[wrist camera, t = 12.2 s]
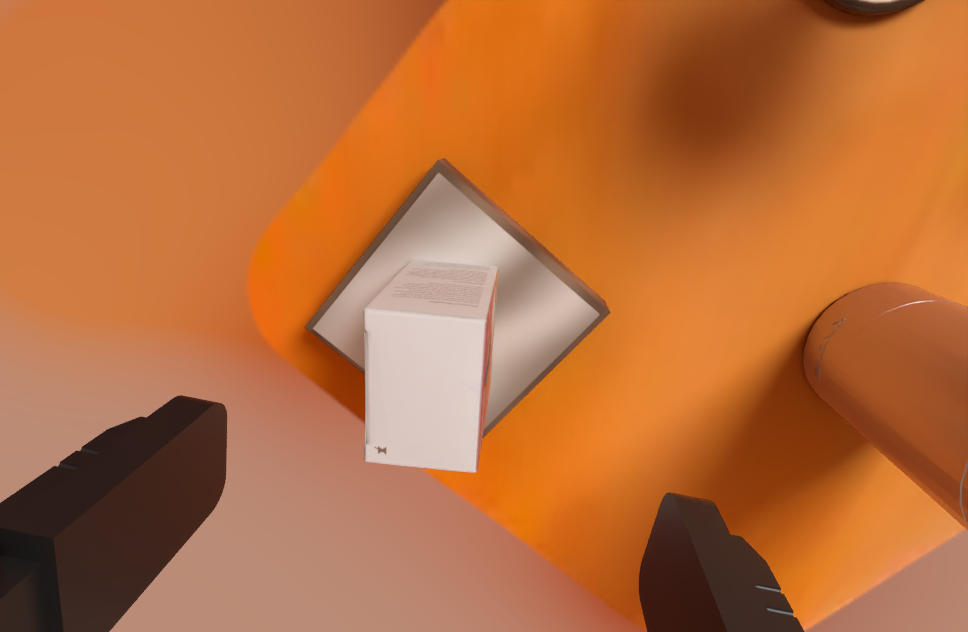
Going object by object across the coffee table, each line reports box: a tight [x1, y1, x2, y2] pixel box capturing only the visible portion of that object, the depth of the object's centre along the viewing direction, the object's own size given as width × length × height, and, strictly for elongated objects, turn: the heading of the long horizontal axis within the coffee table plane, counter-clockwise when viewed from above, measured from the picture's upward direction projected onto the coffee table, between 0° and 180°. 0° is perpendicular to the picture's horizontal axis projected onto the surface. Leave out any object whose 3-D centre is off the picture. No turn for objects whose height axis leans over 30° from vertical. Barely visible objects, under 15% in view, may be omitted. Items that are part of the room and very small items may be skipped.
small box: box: [363, 260, 499, 473], centre depth 30 cm, size 8×6×10 cm
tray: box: [305, 158, 610, 438], centre depth 36 cm, size 14×14×3 cm
